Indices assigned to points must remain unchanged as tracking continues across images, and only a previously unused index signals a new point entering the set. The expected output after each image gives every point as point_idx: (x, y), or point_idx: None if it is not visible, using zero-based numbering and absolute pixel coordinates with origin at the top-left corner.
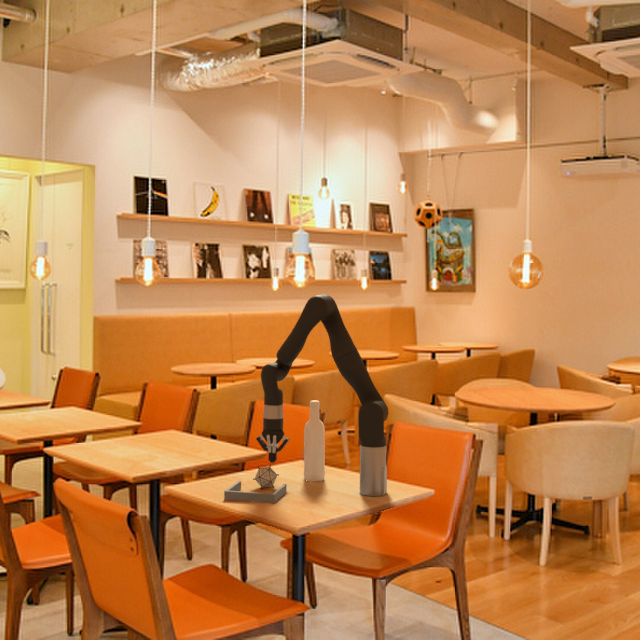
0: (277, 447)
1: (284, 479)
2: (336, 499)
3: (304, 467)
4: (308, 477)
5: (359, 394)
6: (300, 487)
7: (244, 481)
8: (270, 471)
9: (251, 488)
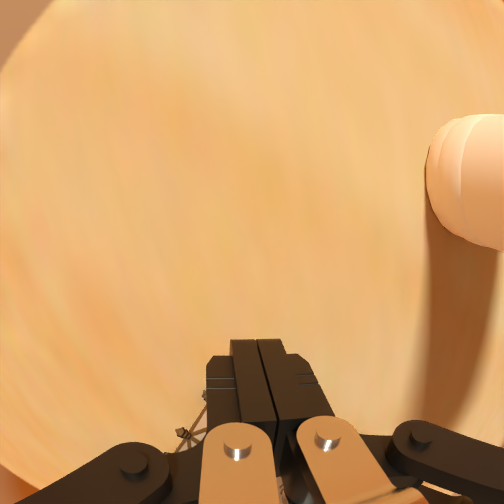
0: (379, 474)
1: (307, 199)
2: (479, 429)
3: (482, 210)
4: (462, 235)
5: None
6: (408, 358)
7: (61, 311)
8: (281, 501)
9: (166, 433)
